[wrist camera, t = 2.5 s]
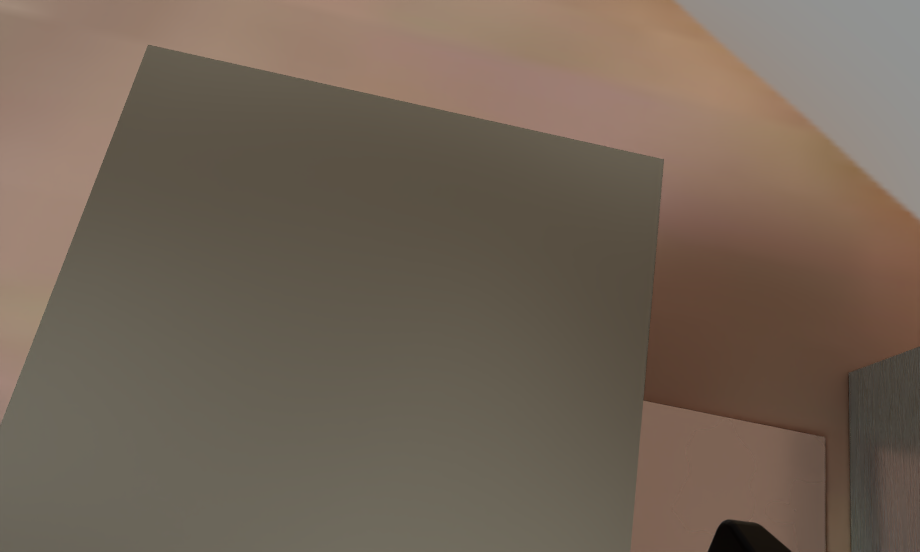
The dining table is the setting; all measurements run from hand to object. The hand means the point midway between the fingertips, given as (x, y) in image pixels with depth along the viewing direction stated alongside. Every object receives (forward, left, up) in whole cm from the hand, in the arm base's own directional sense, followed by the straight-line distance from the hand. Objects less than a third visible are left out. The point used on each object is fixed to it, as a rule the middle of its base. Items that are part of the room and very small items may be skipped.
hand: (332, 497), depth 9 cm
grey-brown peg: (+1, 0, -9) cm, 9 cm away
